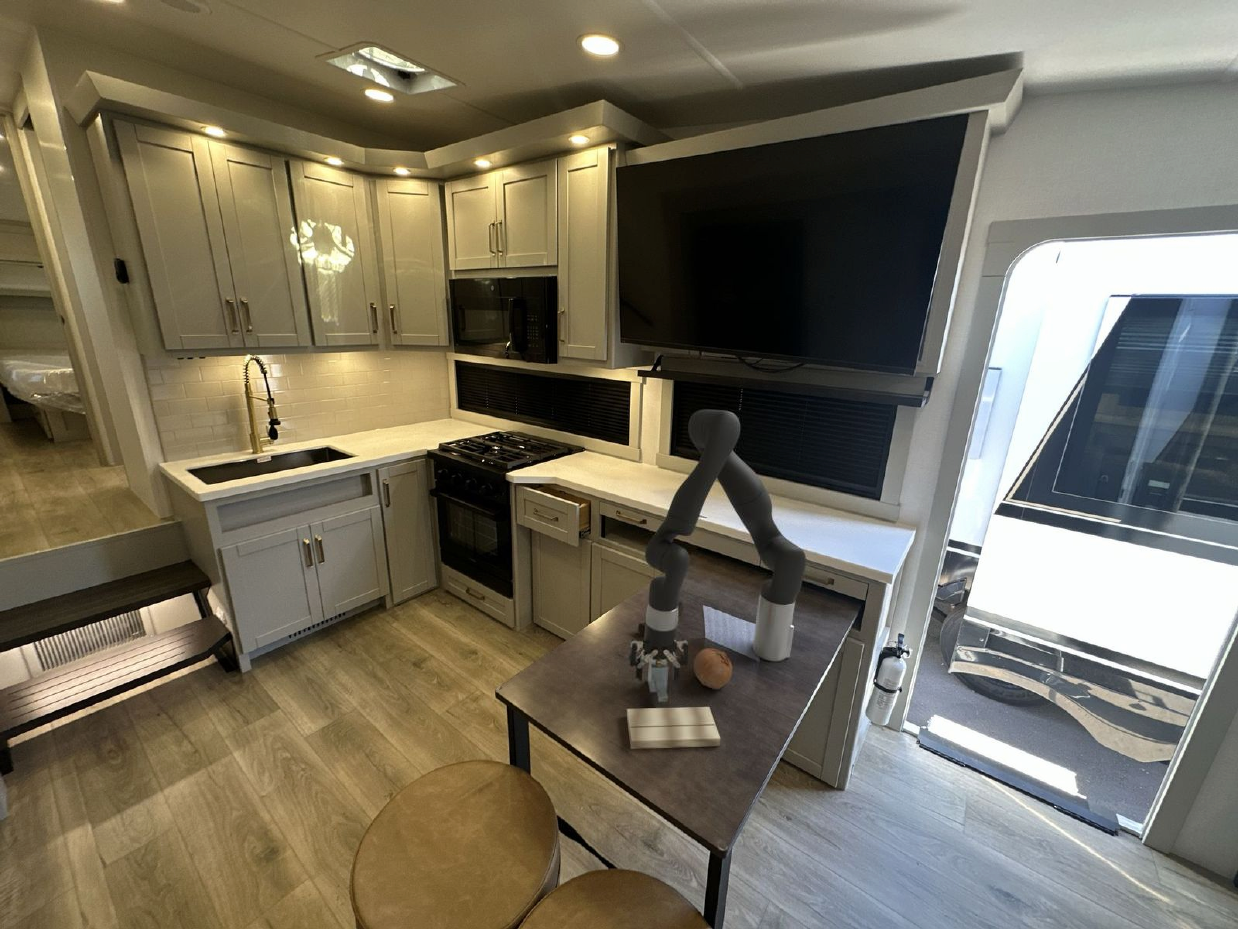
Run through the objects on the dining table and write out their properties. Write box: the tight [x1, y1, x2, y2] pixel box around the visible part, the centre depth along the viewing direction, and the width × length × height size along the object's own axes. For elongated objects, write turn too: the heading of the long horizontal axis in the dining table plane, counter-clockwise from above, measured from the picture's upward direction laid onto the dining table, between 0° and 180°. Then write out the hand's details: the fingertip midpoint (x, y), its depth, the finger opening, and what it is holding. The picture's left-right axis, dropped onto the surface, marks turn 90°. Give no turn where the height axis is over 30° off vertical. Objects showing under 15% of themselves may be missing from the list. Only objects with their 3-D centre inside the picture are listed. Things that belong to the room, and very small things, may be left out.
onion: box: [693, 647, 733, 691], centre depth 122 cm, size 10×9×10 cm
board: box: [626, 706, 721, 750], centre depth 108 cm, size 19×9×2 cm, turn 95°
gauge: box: [647, 659, 669, 703], centre depth 117 cm, size 4×10×8 cm, turn 5°
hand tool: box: [637, 601, 685, 638], centre depth 147 cm, size 19×4×5 cm, turn 132°
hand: (656, 678), depth 121 cm, fingers open, 8 cm apart
